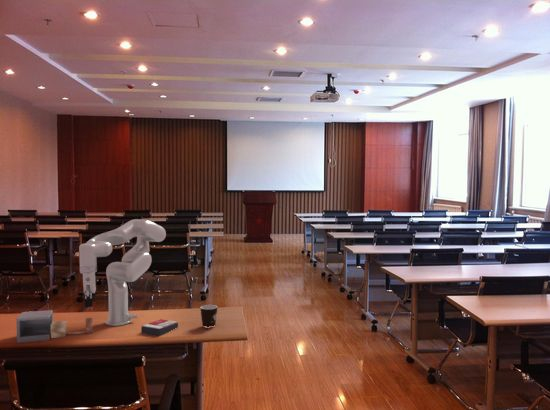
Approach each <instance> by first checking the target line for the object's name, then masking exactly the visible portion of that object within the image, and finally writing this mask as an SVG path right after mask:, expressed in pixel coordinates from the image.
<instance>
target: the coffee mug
mask: <svg viewBox="0 0 550 410" xmlns="http://www.w3.org/2000/svg"><path fill="white" fill-rule="evenodd" d="M199 309H200V315H201V325H203V326H207V327H209V326H214V325H215V326H216V325H217V324H216V322H217V317H218V315H217V313H218V306H217V305H215V304H205V305H202V306H200V308H199ZM203 326H202V327H203Z"/></svg>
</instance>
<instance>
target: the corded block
mask: <svg viewBox="0 0 550 410" xmlns="http://www.w3.org/2000/svg"><path fill="white" fill-rule="evenodd" d="M67 330H68V329H67V320H60V321H59V320H58V321H57V320H56V321H53V322H52V324H51V333H50V339H54V338H65V337H66V335H76V334H86V335H90V334H93V333H94V331H93V317H86V318H85V331H75V332H73V331H72V332H68V331H67Z"/></svg>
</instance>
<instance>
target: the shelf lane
mask: <svg viewBox="0 0 550 410" xmlns="http://www.w3.org/2000/svg"><path fill="white" fill-rule="evenodd" d="M53 311H54V310H52V309H49V310H37V311H32V310H31V311H23V312H21V313H20V314H19V315H18V317H16V318H15V319H16V343H17V344H19V343H31V342H42V341H49V340H50V335H51V324H52V322H54V319H53V318H54V317H53V316H54V315H53V314H54V313H53Z"/></svg>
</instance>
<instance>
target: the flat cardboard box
mask: <svg viewBox="0 0 550 410" xmlns="http://www.w3.org/2000/svg"><path fill="white" fill-rule="evenodd" d="M177 327H178V328H179V322H177V321H174V320H169V319H168V320H167V319H161V318H160V319H158V320H155V321H151V322H149V323H146V324H143V325H142V326H141V332H140V333H141V334H144V335H149V336H155V337H162V336H163V335H165V334H167V333H169V331H170V332H172V331H174V330H176V329H175V328H177ZM178 328H177V329H178ZM173 329H174V330H173ZM171 330H172V331H171Z"/></svg>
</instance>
